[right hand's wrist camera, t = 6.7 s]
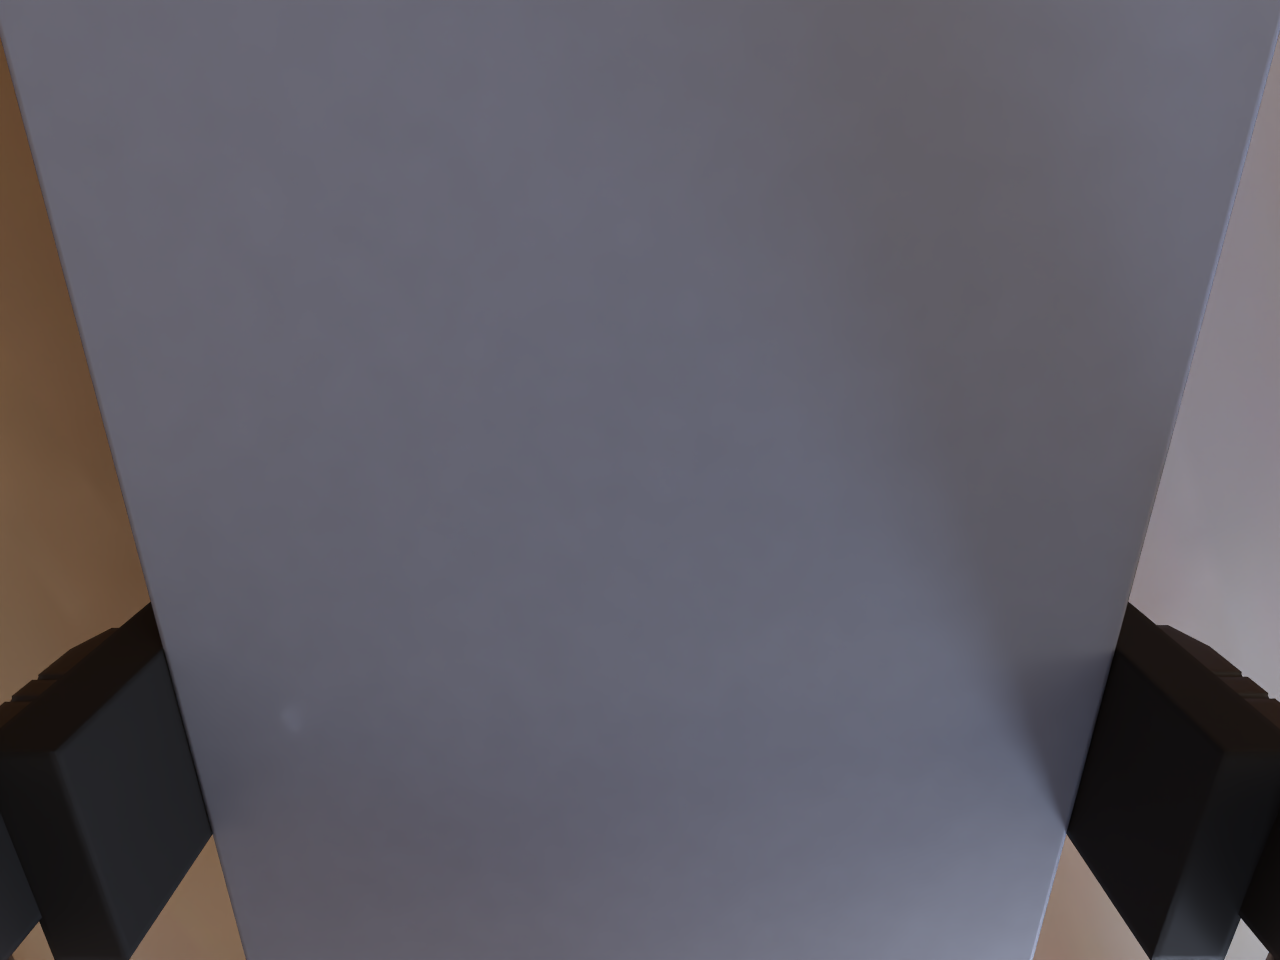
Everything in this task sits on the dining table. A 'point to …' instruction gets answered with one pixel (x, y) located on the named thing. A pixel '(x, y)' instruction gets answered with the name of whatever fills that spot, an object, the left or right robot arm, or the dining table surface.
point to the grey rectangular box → (639, 440)
